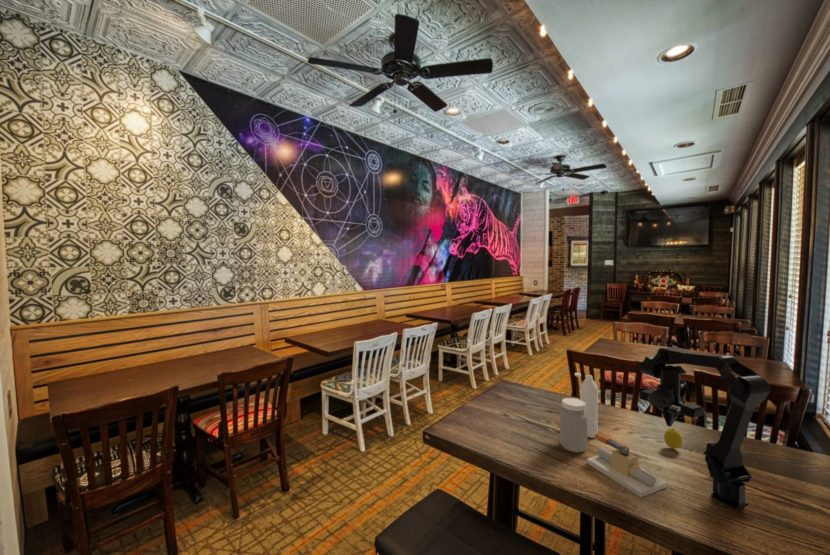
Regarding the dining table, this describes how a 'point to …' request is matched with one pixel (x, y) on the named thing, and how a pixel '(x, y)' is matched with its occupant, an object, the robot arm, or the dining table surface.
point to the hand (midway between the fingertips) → (669, 426)
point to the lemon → (673, 438)
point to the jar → (573, 425)
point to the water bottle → (590, 403)
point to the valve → (626, 472)
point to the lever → (612, 443)
